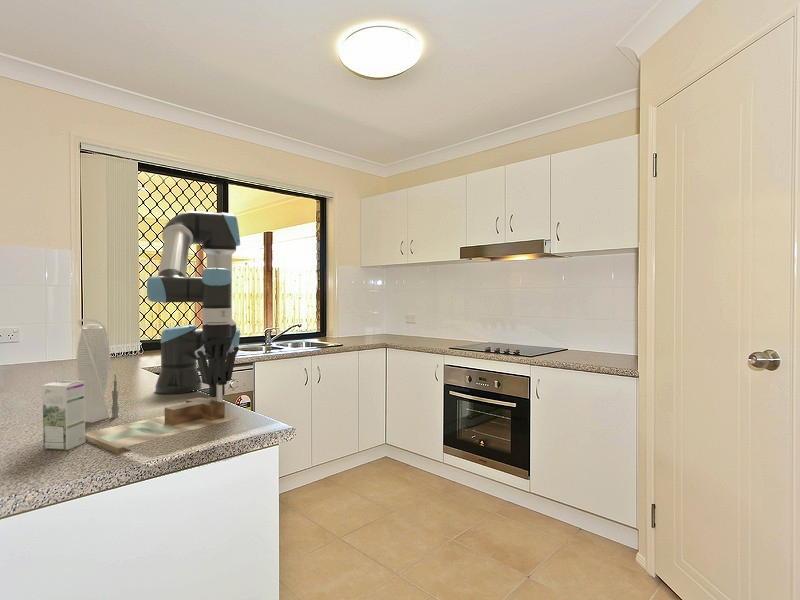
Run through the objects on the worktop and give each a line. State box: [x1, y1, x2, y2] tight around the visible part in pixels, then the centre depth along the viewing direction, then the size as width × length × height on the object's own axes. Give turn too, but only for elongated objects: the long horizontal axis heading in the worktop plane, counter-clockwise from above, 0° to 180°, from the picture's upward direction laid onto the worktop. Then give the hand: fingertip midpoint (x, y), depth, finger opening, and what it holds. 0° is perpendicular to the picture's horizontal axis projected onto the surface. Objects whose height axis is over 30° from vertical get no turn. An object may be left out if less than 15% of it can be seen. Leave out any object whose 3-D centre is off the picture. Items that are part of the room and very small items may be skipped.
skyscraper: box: [75, 318, 120, 424], centre depth 121 cm, size 8×8×28 cm
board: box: [85, 414, 239, 455], centre depth 115 cm, size 30×19×1 cm, turn 145°
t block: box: [164, 396, 226, 426], centre depth 121 cm, size 12×12×4 cm
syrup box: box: [41, 380, 87, 451], centre depth 102 cm, size 6×6×14 cm
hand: (217, 408), depth 127 cm, fingers closed
